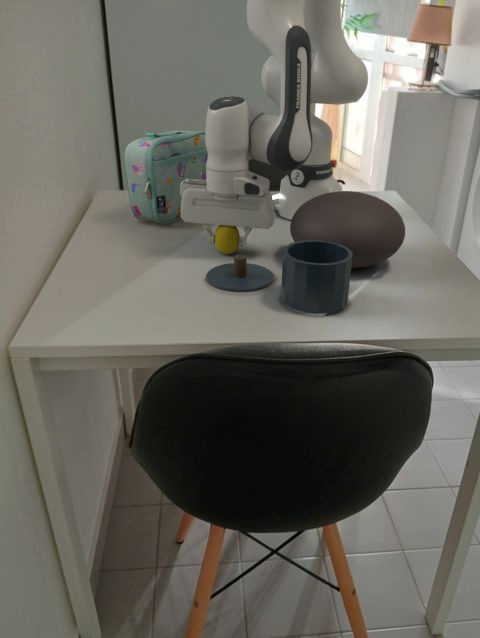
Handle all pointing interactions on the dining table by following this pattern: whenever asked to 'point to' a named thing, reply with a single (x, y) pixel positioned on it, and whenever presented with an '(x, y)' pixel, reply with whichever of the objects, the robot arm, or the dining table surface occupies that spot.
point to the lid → (240, 276)
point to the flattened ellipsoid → (351, 225)
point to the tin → (316, 276)
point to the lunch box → (163, 172)
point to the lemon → (227, 239)
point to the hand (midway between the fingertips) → (227, 244)
